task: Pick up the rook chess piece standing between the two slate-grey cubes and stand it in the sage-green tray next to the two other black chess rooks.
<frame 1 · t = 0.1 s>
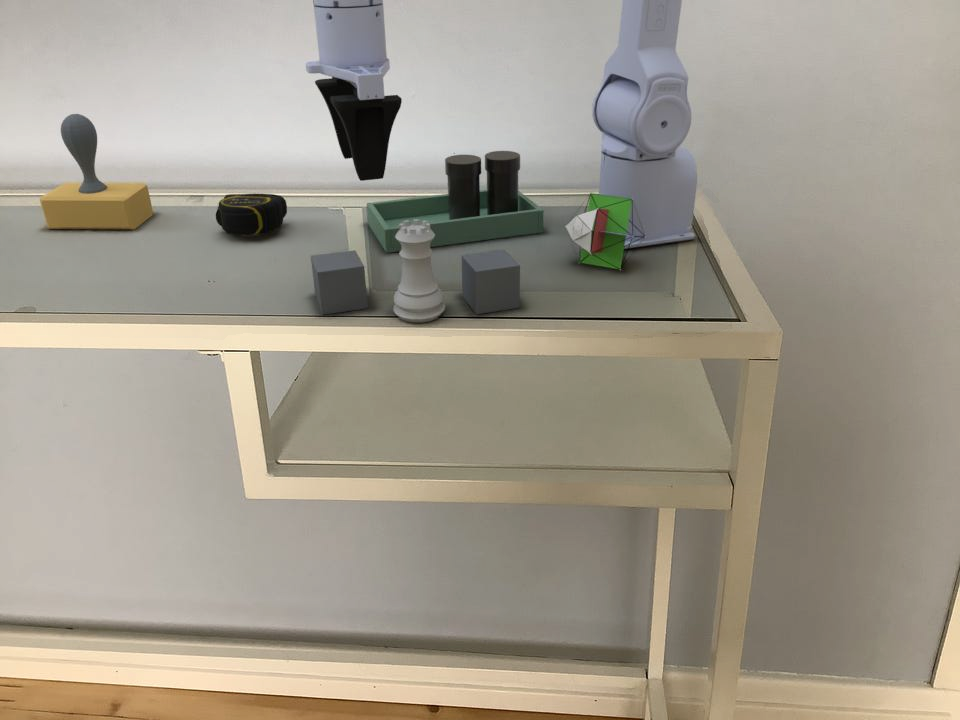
hand: (362, 167, 74), 10 cm above the table, tool pointing down, fingers open, 7 cm apart
tray: (454, 228, 89), on the table
grey cube 1: (341, 302, 72), on the table
grey cube 2: (490, 302, 72), on the table
tape measure: (252, 231, 89), on the table
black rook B: (464, 222, 89), resting on tray
rubber stamp: (102, 223, 93), on the table
geometric puzzle: (603, 263, 79), on the table, touching arm
rook chess piece: (419, 315, 70), on the table
black rook A: (502, 218, 90), resting on tray
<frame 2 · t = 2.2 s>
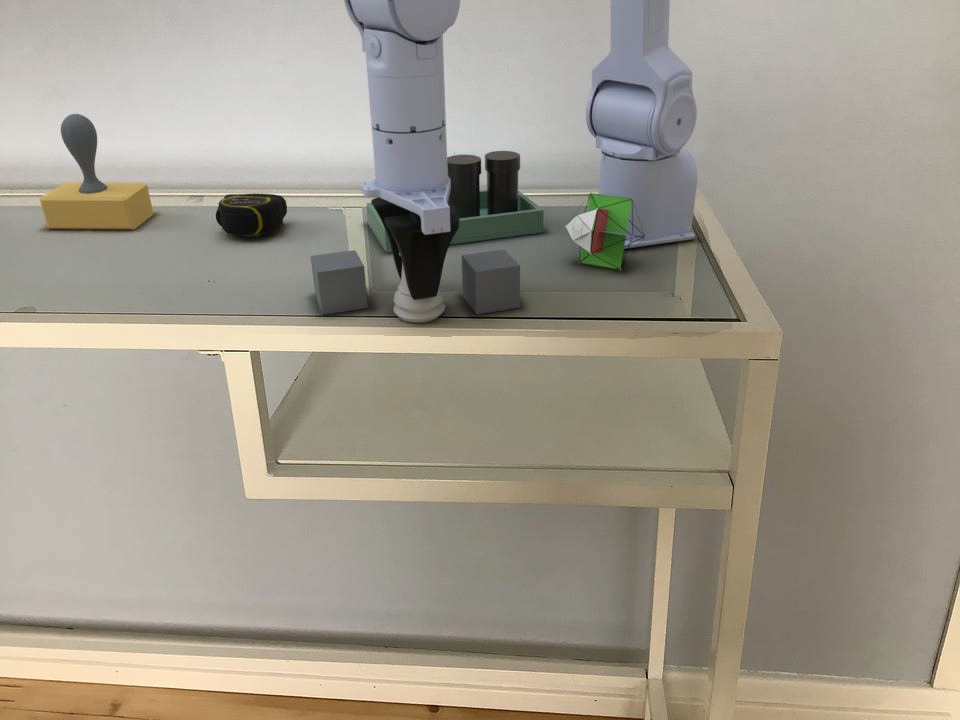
hand: (418, 287, 69), 2 cm above the table, tool pointing down, fingers closed on rook chess piece, 3 cm apart
rook chess piece: (419, 315, 70), on the table, touching gripper
everything else where it was.
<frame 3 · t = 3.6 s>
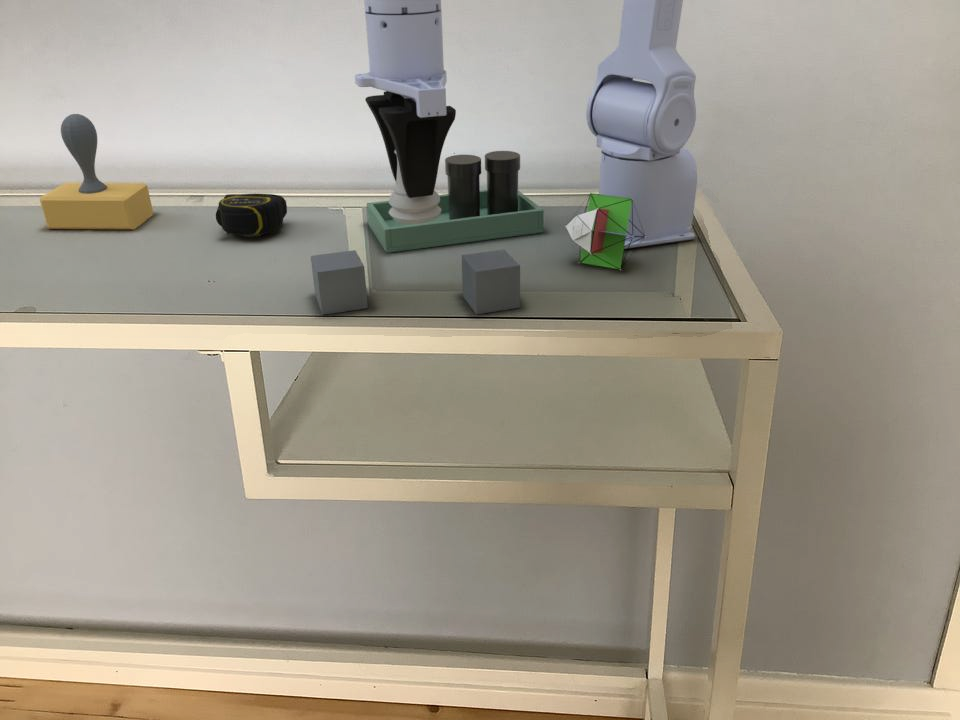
hand: (413, 188, 67), 10 cm above the table, tool pointing down, fingers closed on rook chess piece, 3 cm apart
rook chess piece: (415, 218, 68), point 8 cm above the table, touching gripper
everything else where it was.
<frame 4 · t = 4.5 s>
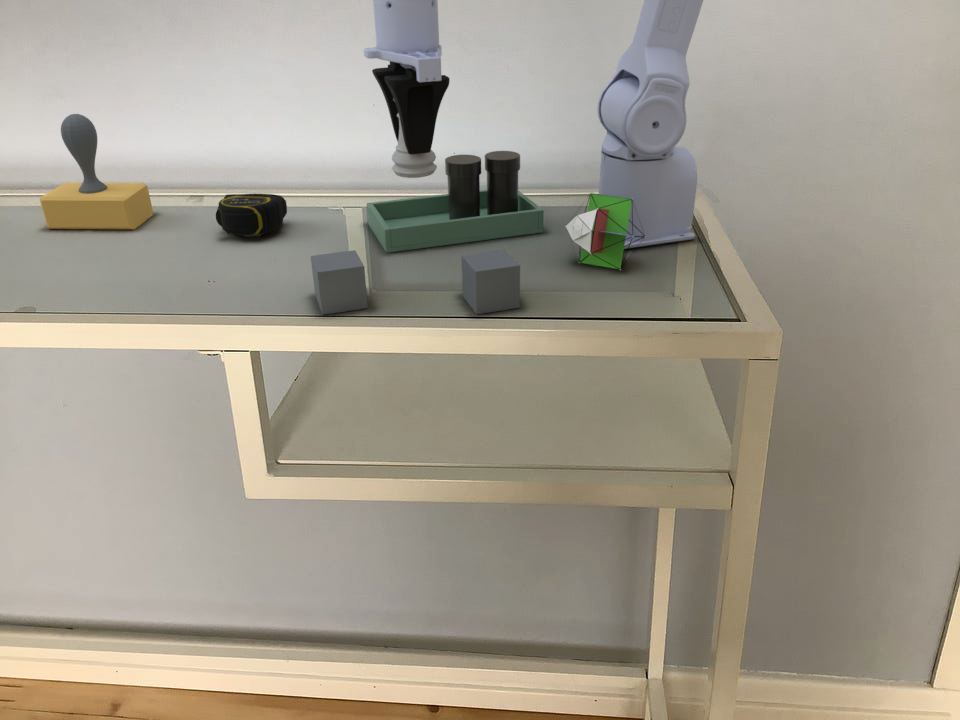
hand: (413, 147, 78), 10 cm above the table, tool pointing down, fingers closed on rook chess piece, 3 cm apart
rook chess piece: (414, 174, 80), point 8 cm above the table, touching gripper
everything else where it was.
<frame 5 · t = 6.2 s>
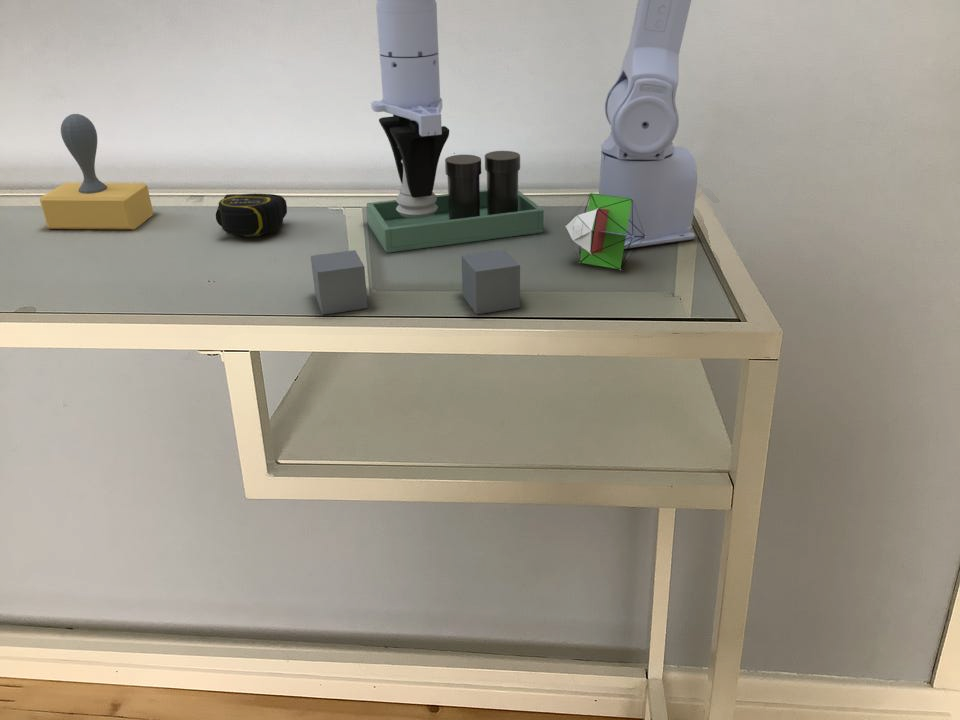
hand: (416, 190, 85), 5 cm above the table, tool pointing down, fingers closed on rook chess piece, 3 cm apart
rook chess piece: (417, 214, 87), point 2 cm above the table, touching gripper
everything else where it was.
when the fingers open (3 cm above the table, at t = 7.1 s): rook chess piece stays where it is, resting on tray.
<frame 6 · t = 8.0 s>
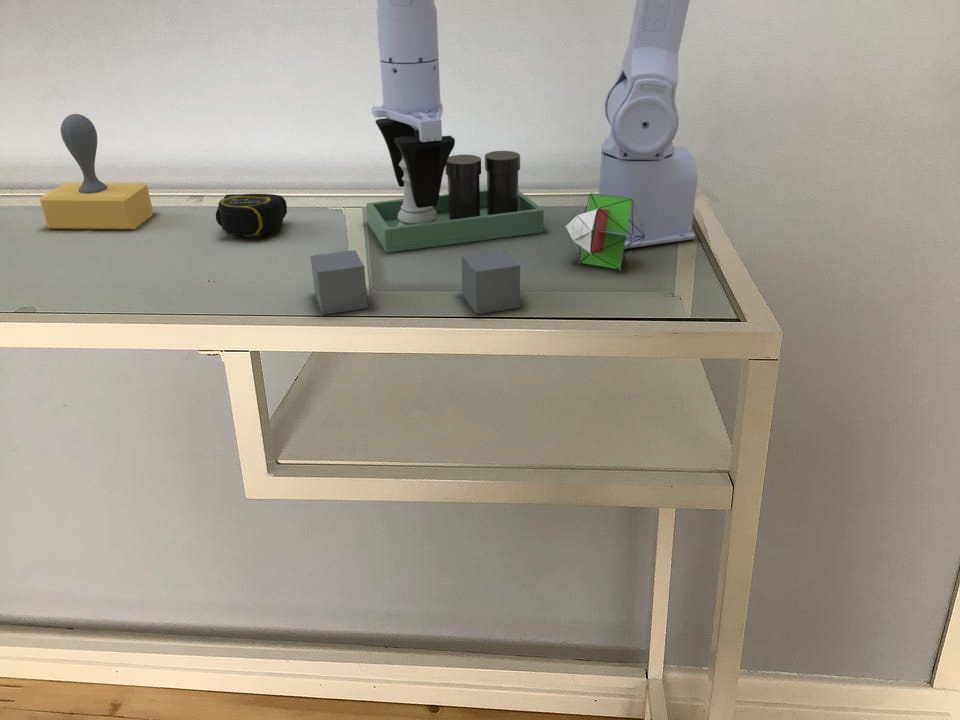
hand: (417, 195, 86), 4 cm above the table, tool pointing down, fingers open, 7 cm apart
rook chess piece: (418, 230, 87), resting on tray
everything else where it was.
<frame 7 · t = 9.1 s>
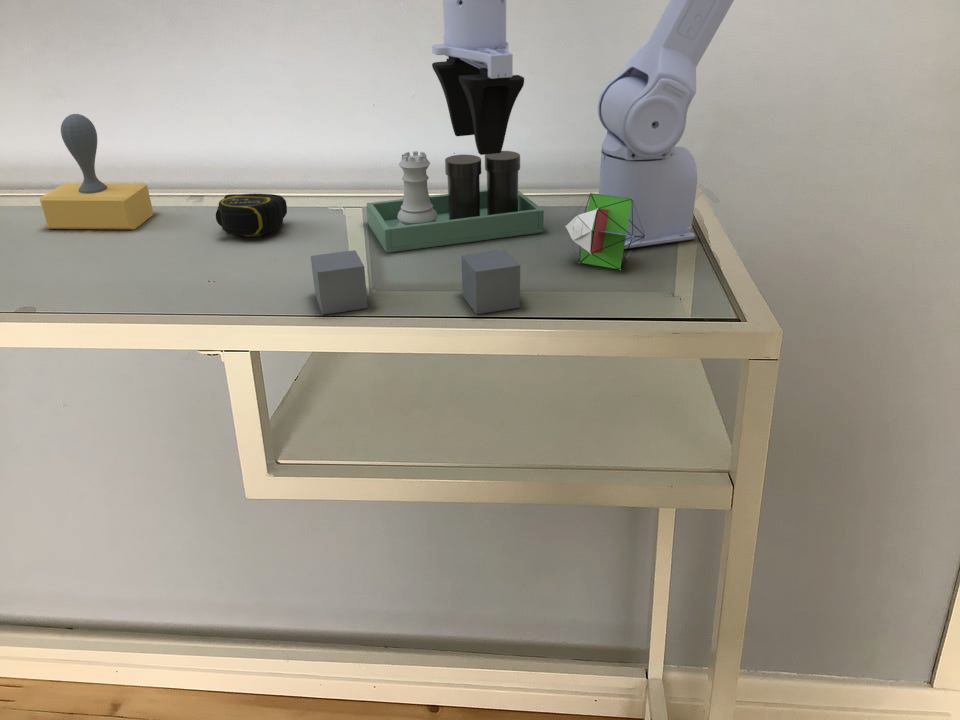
hand: (477, 143, 79), 10 cm above the table, tool pointing down, fingers open, 7 cm apart
nothing on the table moved.
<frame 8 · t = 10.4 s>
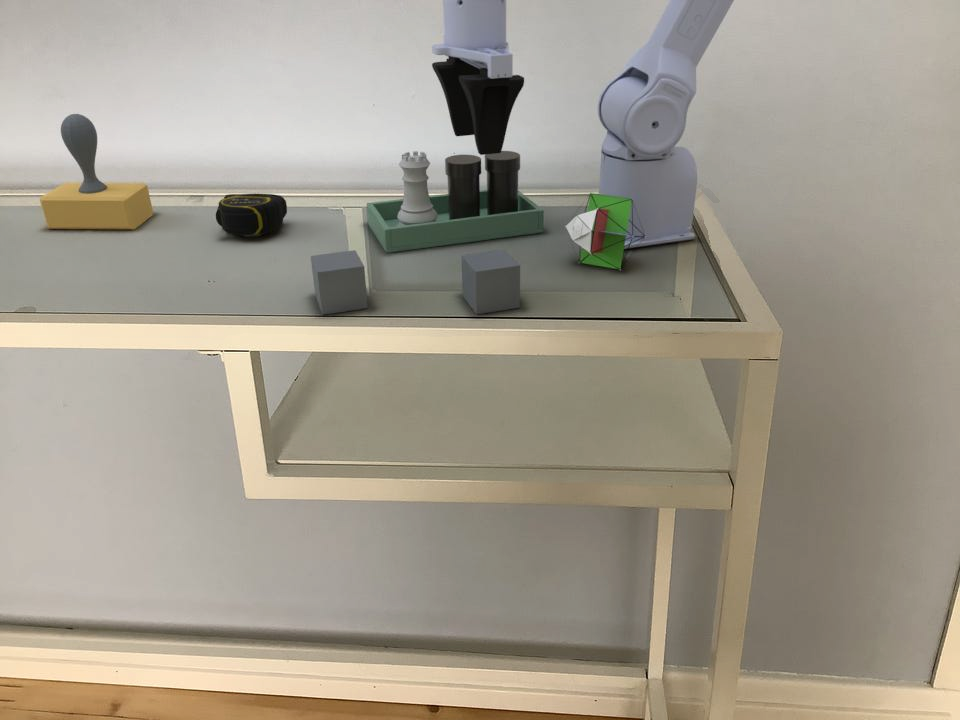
hand: (477, 143, 79), 10 cm above the table, tool pointing down, fingers open, 7 cm apart
nothing on the table moved.
at the end: rook chess piece 0.1 cm from the target spot in the tray, point 0.3 cm above the tray's base; rook chess piece tilted 0° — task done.
